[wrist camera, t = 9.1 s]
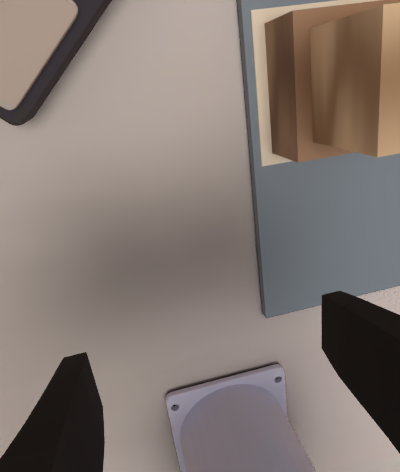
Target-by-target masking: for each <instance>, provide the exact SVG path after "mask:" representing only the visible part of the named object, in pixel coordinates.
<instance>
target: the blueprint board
mask: <svg viewBox="0 0 400 472" xmlns="http://www.w3.org/2000/svg"><path fill="white" fill-rule="evenodd" d="M371 1H379V0H237V8H238V20H239V33H240V45H241V57H242V69H243V81H244V94H245V106H246V118H247V130H248V142H249V155H250V167H251V179H252V191H253V203H254V216H255V228H256V240H257V252H258V264H259V276H260V289H261V301H262V313H263V315H264V316H265V318H269V317H273V316H278V315H282V314H286V313H290V312H294V311H298V310H302V309H306V308H310V307H314V306H318V305H322V295H324V294H328V293H332V292H336V291H342V292H345V293H348V294H351V295H353V296H359V295H363V294H367V293H371V292H376V291H380V290H384V289H388V288H392V287H396V286H400V153H398V154H393V155H388V156H383V157H373V156H369V155H365V154H361V153H356V152H354V153H349V154H343V155H338V156H332V157H327V158H321V159H316V160H310V161H305V162H299V163H297V162H295V161H292V160H289V159H287V158H284V157H281V156H278V155H276V154H273V153H272V141H271V125H270V108H269V91H268V75H267V58H266V42H265V25H264V23H267V22H269V21H271V20H273V19H275V18H277V17H280V16H282V15H284V14H286V13H288V12H291V11H293V10H302V9H310V8H319V7H328V6H336V5H345V4H353V3H362V2H371Z"/></svg>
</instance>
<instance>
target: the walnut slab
mask: <svg viewBox="0 0 400 472" xmlns="http://www.w3.org/2000/svg"><path fill="white" fill-rule="evenodd" d="M392 3H400V0H379V1H371V2H362V3H353V4H345V5H336V6H328V7H319V8H310V9H302V10H293V11H291V12H288V13H286V14H284V15H282V16H280V17H277V18H275V19H273V20H271V21H269V22H267V23H264V25H265V42H266V58H267V75H268V91H269V108H270V125H271V141H272V153H273V154H276V155H278V156H281V157H284V158H287V159H289V160H292V161H295V162H297V163H299V162H305V161H310V160H316V159H321V158H327V157H332V156H338V155H343V154H349V153H354V152H352V151H348V150H344V149H340V148H335V147H331V146H327V145H323V144H319V143H314V142H313V132H312V88H311V44H310V28H313V27H316V26H319V25H322V24H326V23H329V22H332V21H335V20H338V19H341V18H344V17H347V16H350V15H353V14H356V13H359V12H362V11H365V10H368V9H371V8H374V7H377V6H381V5H384V4H392Z"/></svg>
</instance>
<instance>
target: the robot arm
mask: <svg viewBox="0 0 400 472" xmlns="http://www.w3.org/2000/svg"><path fill="white" fill-rule="evenodd" d="M322 349H323V351H324V353H325V354H326V356H327V358H328V359H329V361H330V363H331V364H332V366H333V368H334V369H335V371H336V372H337V374H338V376H339V377H340V378H341V380H342V381H343V382H344V383H345V385H346V386H347V387H348V388H349V390H350V391H351V392H352V394H353V395H354V396H355V397H356V399H357V400H358V401H359V402H360V404H361V405H362V406H363V407H364V409H365V410H366V411H367V412H368V413H369V415H370V416H371V417H372V418H373V420H374V421H375V422H376V423H377V425H378V426H379V427H380V428H381V430H382V431H383V432H384V433H385V435H386V436H387V437H388V438H389V440H390V441H391V442H392V444H393V445H394V446H395V448H396V449H397V450H398V452H399V453H400V315H398V314H396V313H393V312H391V311H389V310H386V309H384V308H382V307H379V306H377V305H375V304H372V303H370V302H368V301H365V300H363V299H360V298H358V297H356V296H353V295H351V294H348V293H345V292H342V291H336V292H332V293H328V294H324V295H322ZM276 377H278V378H277V379H275V378H276ZM165 400H166V405H167V410H168V415H169V420H170V424H171V429H172V434H173V438H174V443H175V448H176V452H177V457H178V462H179V466H180V471H181V472H316V470H315V468H314V466H313V464H312V462H311V461H310V459H309V457H308V455H307V453H306V451H305V450H304V448H303V446H302V444H301V442H300V440H299V439H298V437H297V435H296V433H295V431H294V429H293V428H292V426H291V424H290V422H289V420H288V418H287V405H286V389H285V372H284V369H283V367H282V366H281V365H279V364H275V365H271V366H267V367H264V368H260V369H256V370H252V371H248V372H245V373H241V374H237V375H233V376H230V377H226V378H222V379H218V380H215V381H211V382H207V383H203V384H199V385H196V386H192V387H188V388H184V389H181V390H177V391H173V392H170V393H169V394H167V396H166V398H165ZM176 404H177V406H173V405H176ZM104 442H105V441H104V421H103V406H102V403H101V399H100V396H99V393H98V389H97V386H96V383H95V379H94V376H93V373H92V370H91V366H90V363H89V360H88V356H87V353H86V352H85V353H81V354H77V355H73V356H69V357H64V359H63V360H62V361H61V363H60V365H59V366H58V368H57V370H56V372H55V374H54V375H53V377H52V379H51V381H50V382H49V384H48V386H47V388H46V389H45V391H44V393H43V394H42V396H41V398H40V399H39V401H38V403H37V404H36V406H35V408H34V409H33V411H32V412H31V414H30V416H29V417H28V419H27V420H26V422H25V424H24V425H23V427H22V428H21V430H20V431H19V433H18V434H17V435H16V437H15V438H14V440H13V441H12V443H11V444H10V446H9V447H8V449H7V450H6V452H5V453H4V454H3V456H2V457H1V458H0V472H103V460H104Z"/></svg>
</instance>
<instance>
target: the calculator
mask: <svg viewBox="0 0 400 472" xmlns="http://www.w3.org/2000/svg"><path fill="white" fill-rule="evenodd" d="M110 2H111V0H0V118H1V119H3V120H4V121H6V122H8V123H9V124H12V125H16V126H17V125H22V124H24V123H25V122H27V121H28V120H30V119H31V118H32V117H34V115H35V114H36V113H37V111H38V110H39V108H40V107H41V105H42V104H43V102H44V101H45V99H46V98H47V96H48V95H49V93H50V92H51V90H52V89H53V87H54V86H55V84H56V83H57V81H58V80H59V78H60V77H61V75H62V74H63V72H64V71H65V69H66V68H67V66H68V65H69V63H70V62H71V60H72V59H73V57H74V56H75V54H76V53H77V51H78V50H79V48H80V47H81V45H82V44H83V42H84V41H85V39H86V38H87V36H88V35H89V33H90V32H91V30H92V29H93V27H94V26H95V24H96V23H97V21H98V20H99V18H100V17H101V15H102V14H103V12H104V11H105V9H106V8H107V6H108V5H109V3H110Z"/></svg>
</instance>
